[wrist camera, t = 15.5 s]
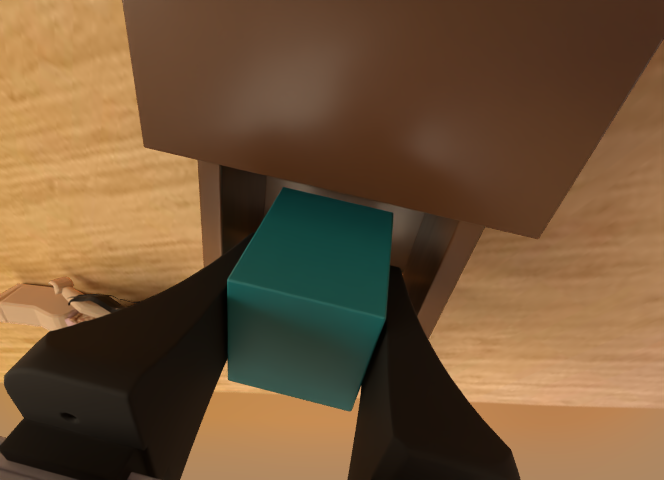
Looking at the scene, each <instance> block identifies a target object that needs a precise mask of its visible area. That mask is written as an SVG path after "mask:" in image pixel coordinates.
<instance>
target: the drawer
mask: <svg viewBox="0 0 664 480" xmlns="http://www.w3.org/2000/svg"><path fill="white" fill-rule="evenodd" d="M198 174H199V192H200V209H201V226H202V243H203V261H204V268H205V267H206V266H208V265H209V264H211V263H212V262H213V261H215V260H216V259H218V258H219V257H220V256H222V255H223V254H225V253H226V252H227V251H229V250H230V249H231V248H233V247H234V246H235V245H237V244H238V243H239V242H241V241H242V240H243V239H244V238H246V237H247V236H248V235H250V234H251V233H253V232H254V233H256V231H257V229H258V228H259V226H260V224H261V223H262V221H263V219H264V218H265V216H266V214H267V213H268V211H269V209H270V208H271V206H272V205H273V203H274V201H275V200H276V198H277V196H278V195H279V193H280V191H281V190H282V188H283V187H286V188H290V189H294V190H299V191H303V192H307V193H312V194H316V195H320V196H324V197H329V198H333V199H337V200H342V201H346V202H350V203H354V204H359V205H363V206H367V207H372V208H376V209H380V210H384V211H389V212H392V213H393V214H394V217H393V231H392V245H391V258H390V265H391V266H396V267H399V268H400V269H401V271H402V272H403V279H404V282H405V285H406V289H407V291H408V294H409V297H410V300H411V302H412V305H413V307H414V310H415V312H416V315H417V317H418V319H419V322H420V324H421V326H422V328H423V330H424V332H425V334H426V336H427V338H428V339H429V337H430V335H431V333H432V331H433V329H434V327H435V325H436V323H437V321H438V319H439V317H440V315H441V313H442V311H443V309H444V307H445V305H446V303H447V301H448V299H449V297H450V295H451V293H452V291H453V289H454V287H455V285H456V283H457V281H458V279H459V277H460V275H461V273H462V271H463V269H464V267H465V265H466V263H467V261H468V259H469V257H470V255H471V254H472V252H473V250H474V248H475V246H476V244H477V242H478V240H479V238H480V236H481V234H482V232H483V230H484V228H485V227H484V226H480V225H475V224H471V223H467V222H462V221H458V220H454V219H450V218H445V217H441V216H437V215H432V214H428V213H424V212H420V211H415V210H411V209H407V208H402V207H398V206H394V205H390V204H385V203H381V202H377V201H372V200H368V199H364V198H360V197H355V196H351V195H347V194H342V193H338V192H334V191H330V190H325V189H321V188H317V187H312V186H308V185H304V184H300V183H295V182H291V181H287V180H282V179H278V178H274V177H270V176H265V175H261V174H257V173H252V172H248V171H244V170H240V169H235V168H231V167H227V166H222V165H218V164H214V163H210V162H205V161H201V160H198Z"/></svg>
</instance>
